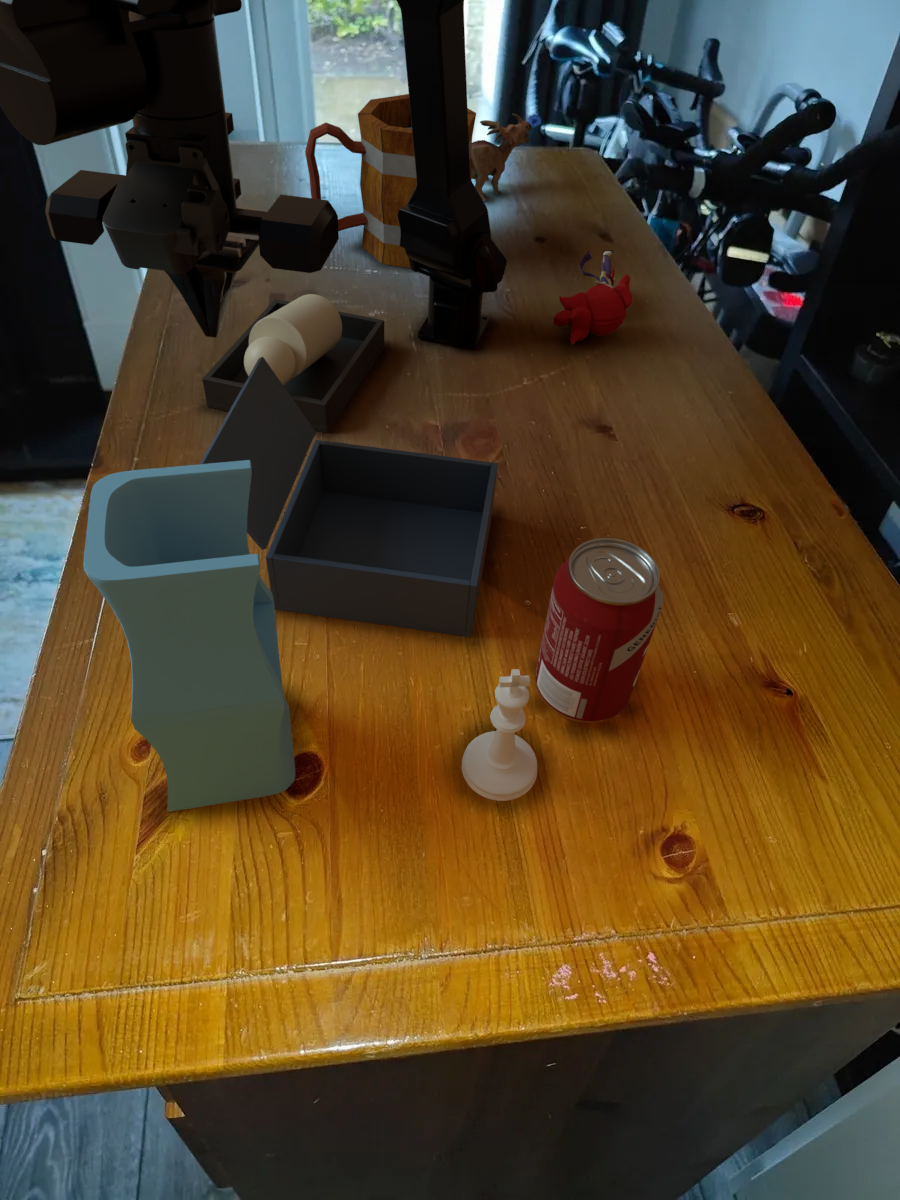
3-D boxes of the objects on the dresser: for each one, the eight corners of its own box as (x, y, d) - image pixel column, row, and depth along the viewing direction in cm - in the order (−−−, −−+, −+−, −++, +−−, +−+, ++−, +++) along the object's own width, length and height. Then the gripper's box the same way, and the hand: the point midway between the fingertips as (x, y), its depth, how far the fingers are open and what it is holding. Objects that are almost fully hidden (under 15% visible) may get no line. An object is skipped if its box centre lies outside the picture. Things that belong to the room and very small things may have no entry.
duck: (288, 289, 84) (226, 322, 73) (343, 299, 83) (288, 335, 72) (288, 362, 88) (230, 404, 78) (340, 373, 87) (288, 417, 77)
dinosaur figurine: (494, 172, 123) (500, 102, 117) (526, 184, 121) (534, 113, 114) (432, 198, 116) (434, 124, 109) (464, 211, 114) (468, 137, 107)
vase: (297, 791, 53) (261, 565, 38) (167, 812, 51) (78, 586, 37) (287, 691, 58) (252, 458, 43) (168, 708, 57) (91, 472, 42)
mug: (458, 220, 111) (465, 93, 100) (478, 268, 102) (489, 134, 92) (308, 224, 108) (298, 94, 97) (316, 274, 99) (306, 136, 88)
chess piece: (458, 737, 56) (468, 640, 49) (531, 734, 57) (551, 637, 49) (465, 803, 53) (477, 709, 46) (542, 799, 53) (566, 706, 46)
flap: (199, 469, 54) (194, 471, 54) (266, 548, 59) (261, 550, 59) (262, 356, 64) (258, 358, 64) (316, 432, 68) (312, 433, 68)
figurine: (636, 288, 99) (632, 355, 89) (564, 293, 101) (553, 359, 91) (635, 233, 95) (631, 298, 85) (560, 240, 97) (547, 304, 87)
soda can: (567, 743, 56) (599, 624, 48) (515, 670, 60) (537, 549, 51) (648, 707, 59) (693, 588, 50) (593, 640, 63) (626, 519, 54)
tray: (277, 325, 91) (274, 298, 89) (384, 347, 89) (384, 320, 87) (207, 406, 80) (201, 378, 78) (327, 433, 78) (325, 405, 76)
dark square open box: (471, 637, 62) (477, 586, 58) (273, 609, 63) (265, 557, 59) (492, 514, 72) (498, 462, 68) (319, 491, 73) (315, 439, 69)
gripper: (-36, 129, 47) (43, 374, 59) (287, 168, 46) (305, 410, 58) (57, 74, 55) (111, 300, 66) (336, 107, 54) (343, 331, 65)
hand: (213, 334), depth 64 cm, fingers closed
